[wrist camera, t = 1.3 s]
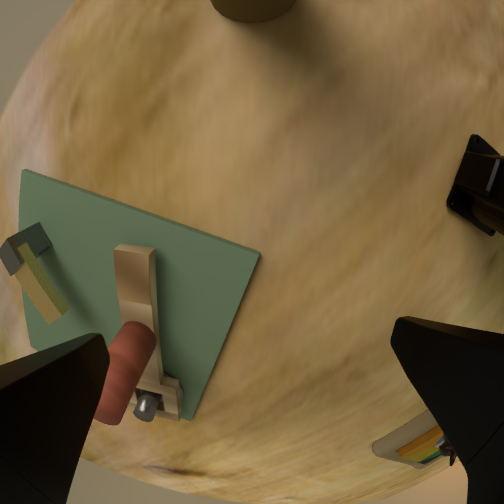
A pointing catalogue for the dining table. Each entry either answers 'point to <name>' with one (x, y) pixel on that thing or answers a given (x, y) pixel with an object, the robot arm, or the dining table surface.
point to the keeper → (33, 270)
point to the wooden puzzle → (412, 442)
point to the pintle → (151, 402)
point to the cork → (252, 9)
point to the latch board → (104, 282)
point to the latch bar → (136, 341)
